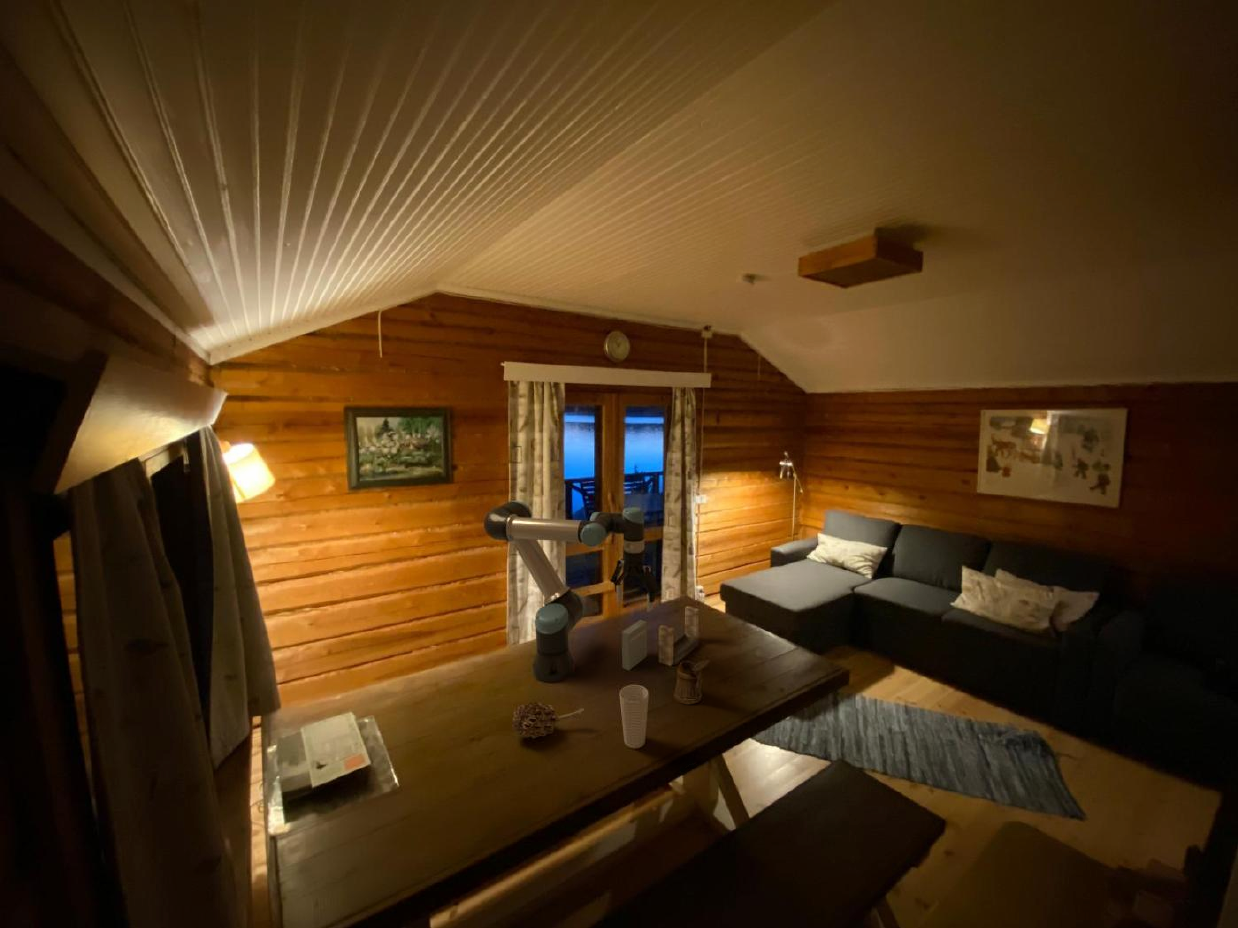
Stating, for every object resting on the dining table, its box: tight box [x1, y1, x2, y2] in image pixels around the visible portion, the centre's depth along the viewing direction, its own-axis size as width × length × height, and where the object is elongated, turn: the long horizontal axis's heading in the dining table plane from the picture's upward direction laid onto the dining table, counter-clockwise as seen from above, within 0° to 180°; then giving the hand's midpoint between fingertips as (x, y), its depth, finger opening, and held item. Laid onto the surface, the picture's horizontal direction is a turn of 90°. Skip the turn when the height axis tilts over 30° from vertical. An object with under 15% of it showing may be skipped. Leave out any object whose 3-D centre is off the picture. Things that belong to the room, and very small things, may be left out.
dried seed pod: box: [512, 701, 585, 739], centre depth 153 cm, size 22×10×10 cm, turn 109°
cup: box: [619, 683, 650, 749], centre depth 148 cm, size 8×8×16 cm
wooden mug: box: [673, 657, 710, 705], centre depth 167 cm, size 9×14×18 cm, turn 30°
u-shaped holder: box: [658, 606, 700, 667], centre depth 198 cm, size 8×22×14 cm, turn 144°
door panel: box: [621, 619, 648, 671], centre depth 191 cm, size 3×12×14 cm, turn 144°
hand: (634, 605), depth 189 cm, fingers open, 13 cm apart
